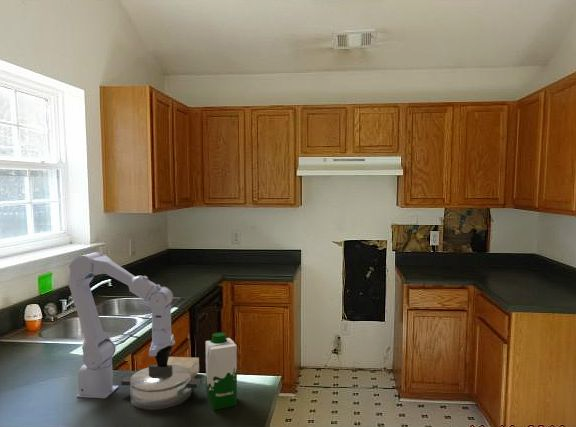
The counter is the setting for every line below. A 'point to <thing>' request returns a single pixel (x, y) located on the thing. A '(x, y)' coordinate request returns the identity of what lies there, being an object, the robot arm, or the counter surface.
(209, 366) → the milk carton
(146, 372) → the cooker lid
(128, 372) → the counter surface
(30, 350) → the counter surface
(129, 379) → the cooker pot
